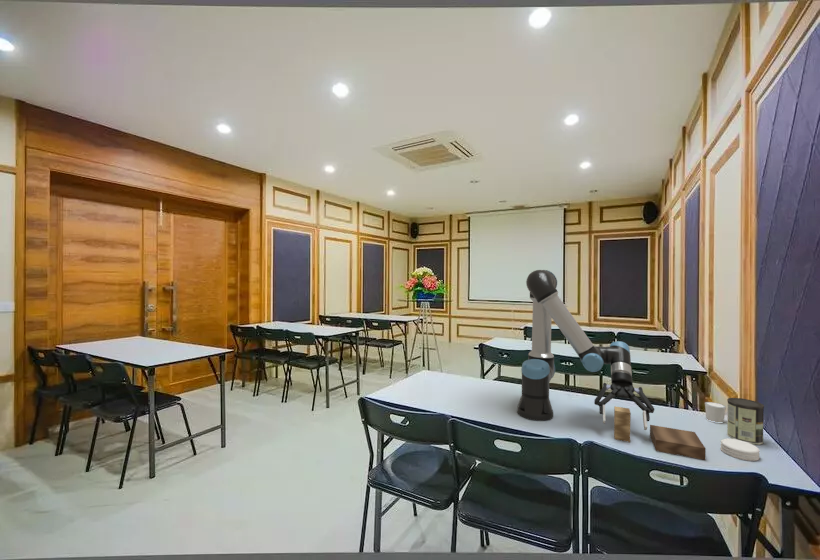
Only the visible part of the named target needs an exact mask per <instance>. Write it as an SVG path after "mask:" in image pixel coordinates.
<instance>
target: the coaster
mask: <svg viewBox="0 0 820 560" xmlns="http://www.w3.org/2000/svg"><path fill="white" fill-rule="evenodd" d="M720 449H721V451H722V453H724V454H726V455H727V456H729V457H733V458H735V459H738V460H743V461H747V462H748V461H749V462H757V461H758V460H760V452H761V451H760V448H759V447H757V445H754V444H750V443H748V442H744V441H741V440H736V439H732V438H723V439H721V441H720Z"/></svg>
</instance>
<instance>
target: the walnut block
mask: <svg viewBox="0 0 820 560" xmlns="http://www.w3.org/2000/svg"><path fill="white" fill-rule="evenodd" d="M649 436H651V437H650V440H651V442H652V444H653V447H654V450H655V452H660V453H666V454H672V455H676V456H677V455H678V456H681V455H683V456H682V457H686V458H687V457H688V458H691V459H692V458H693V459H699V460H702V461H703V460H705V461H706V450H707V449H706V446H705V445H704V444H703V442H702V441H701V439H700V437H699V436H698V434H697V433H696V431H692V430H691V431H690V430H685V429H680V428H679V429H678V428H674V427H673V428H672V427H667V426H661V425H660V426H658V425H655V424H654V425H653V424H650V425H649Z"/></svg>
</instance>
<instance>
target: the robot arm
mask: <svg viewBox="0 0 820 560" xmlns="http://www.w3.org/2000/svg"><path fill="white" fill-rule="evenodd" d="M525 283H526V288H527V290H528V291H529V299H530V300H531V301H532V324H531V327H532V328H531V350H530V351H529V352H528V358H527V359H526V360H523V362H522V365H521V368H520V369H521V396H520V399H519V402H518V404H517V410H516V411H517V414H518V416H521V417H522V418H525V419H528V420H531V421H540V422H541V421H548V420H549V421H550V420H551V419H553V418H554V410H553V407H552V404H551V400H550V382H551V380H552V379H553V378H554V376H555V373H556V366H555V356H554V354H553V353H552V320H553V322H554V323H555V324H556V326H557V327H558V329H559V330H560V331H561V333H562V334H563V336H564V337H565V339H566V340H567V342H568V343H569V344H570V346H571V348H572V349H573V351H574V352H575V353H576V354H577V356H578V358H579V359H580V362H581V363H582V366H583V368H584V369H585V370H586V371H588V372H591V373H596V372H599V371H600V370H601V369H602V368H603V366H604V365H610V381H611V384H607V382H603V383H602V384H603V385H602V388H601V389H600V391H599V393H597V395H596V397H595V399H594V401H593V402H594V405H595V406H598V408H599V415H602V424H606V404H608V403H609V402H610V401H611V400H612V399H614V398H615V397H618V398H624V399H628V398H629V400H631V401H633V402H634V404H635V405H636V406H638V407H639V409H641V411H642V420H643V421H642V423H643V430H644V431H647V429H648V422H650V420H651V418H650V414H653V413H654V411H655V407H654V406H653V404H652V403H651V401H650V400H649V398H648V397H647V396H646V395H645V392H644V390H643V387H642V386H639V387H637V388H636V387H634V384H633V376H632V375H633V374H632V373H633V372H632V361H631V351H630V346H629V345H628V344H627V343H626V342H624V341H620V340H618V341H617V340H616V341H613V342H611V343H610V345H609V346H595V345H594V344H593V342H592V341H591V339H590V338H589V337H588V335H587V334H586V333H585V331H584V330H583V329H582V327H581V325H580V324H579V323H578V322H577V320H576V319H575V317H574V316H573V315H572V313H571V312H570V310H569V309H568V308H567V306H566V305H565V303H564V301H562V299H561V298H560V296H559V291H558V289H557V287H558V279H557V277H556V275H555V274H554V273H553V272H552V271H550V270H548V269H547V270H546V269H537V270H533V271H531V272H530V273H529V274H528V276H527V277H526V281H525ZM609 389H610V390H611V391H610V393H609V394H608V395H607V396H605V397H604V395H605V393H606V392H607V391H608V390H609ZM634 392H635V393H636V394H637V395H639V397H640V399H641V400H642V401H641V400H640V399H639V398H638V397H637V396H636V394H635V393H634ZM603 397H604V398H603ZM602 398H603V399H602ZM601 399H602V400H601Z"/></svg>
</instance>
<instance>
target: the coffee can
mask: <svg viewBox="0 0 820 560" xmlns="http://www.w3.org/2000/svg"><path fill="white" fill-rule="evenodd" d="M764 409H765V405H764V404H763V403H761V402H758V401H756V400H752V399H747V398H741V397H729V398H728V397H727V421H726V422H727V426H726V427H727V432H726V435H727V436H728V438H729V439H736V440H741V441H744V442H748V443H750V444H752V445H754V446H758V445H759V446H760V445H763V444H764Z"/></svg>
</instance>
